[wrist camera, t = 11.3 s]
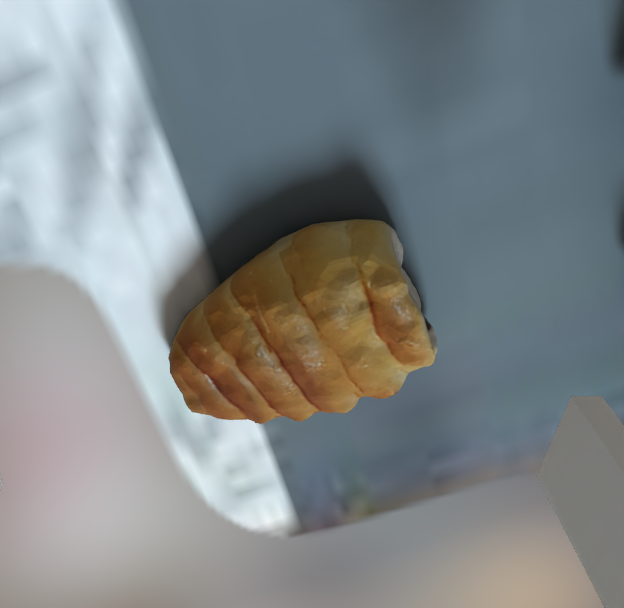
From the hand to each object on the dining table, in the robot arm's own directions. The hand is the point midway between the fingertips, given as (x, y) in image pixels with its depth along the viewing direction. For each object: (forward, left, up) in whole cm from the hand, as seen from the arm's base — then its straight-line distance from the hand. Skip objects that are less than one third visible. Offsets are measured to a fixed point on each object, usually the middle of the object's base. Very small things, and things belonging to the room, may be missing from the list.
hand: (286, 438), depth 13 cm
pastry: (+1, -2, -8) cm, 9 cm away
